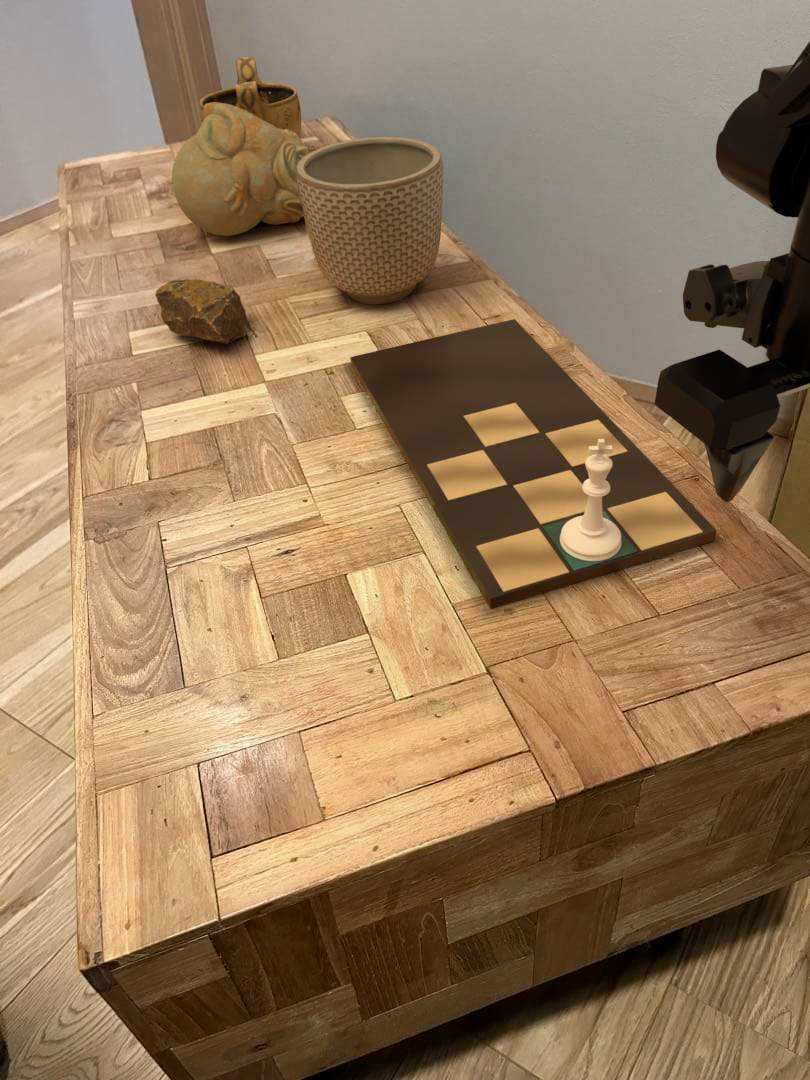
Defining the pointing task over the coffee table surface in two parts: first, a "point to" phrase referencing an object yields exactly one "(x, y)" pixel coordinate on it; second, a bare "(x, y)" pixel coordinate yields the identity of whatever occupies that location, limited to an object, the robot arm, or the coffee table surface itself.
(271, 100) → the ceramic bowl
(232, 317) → the rock
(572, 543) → the chess piece
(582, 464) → the game board
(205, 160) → the sculpture
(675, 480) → the coffee table surface
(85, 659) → the coffee table surface
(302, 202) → the planter
